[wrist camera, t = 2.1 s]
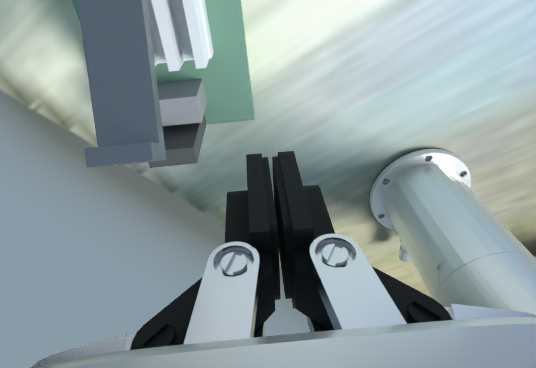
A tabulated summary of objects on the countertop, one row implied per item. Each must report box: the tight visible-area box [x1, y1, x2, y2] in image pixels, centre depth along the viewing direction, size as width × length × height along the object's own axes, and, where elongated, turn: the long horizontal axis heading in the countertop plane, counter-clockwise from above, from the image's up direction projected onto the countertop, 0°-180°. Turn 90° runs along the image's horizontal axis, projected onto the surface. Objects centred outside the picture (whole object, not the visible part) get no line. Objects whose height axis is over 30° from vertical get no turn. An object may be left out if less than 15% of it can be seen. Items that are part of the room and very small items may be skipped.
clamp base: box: [73, 0, 254, 168], centre depth 27 cm, size 22×14×10 cm, turn 5°
